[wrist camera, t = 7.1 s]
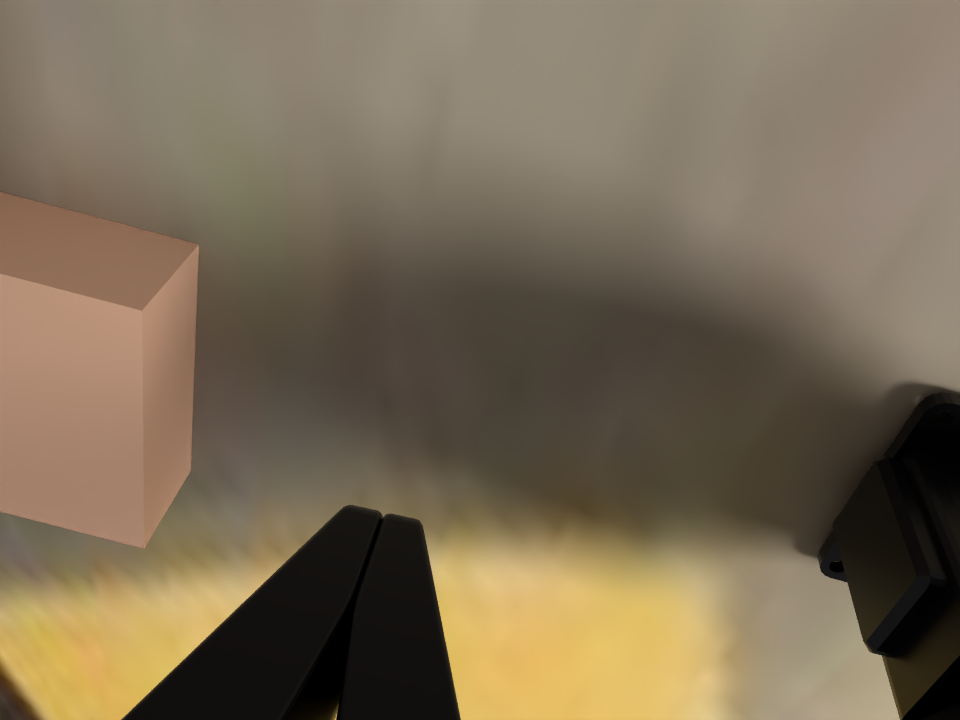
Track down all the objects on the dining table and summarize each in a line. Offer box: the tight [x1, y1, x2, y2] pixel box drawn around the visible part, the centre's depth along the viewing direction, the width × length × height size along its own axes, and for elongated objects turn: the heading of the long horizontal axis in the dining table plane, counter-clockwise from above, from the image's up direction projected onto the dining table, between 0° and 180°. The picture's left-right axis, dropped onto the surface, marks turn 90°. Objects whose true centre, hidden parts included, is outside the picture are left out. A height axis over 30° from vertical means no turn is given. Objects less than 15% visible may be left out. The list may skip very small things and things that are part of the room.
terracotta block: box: [0, 192, 199, 548], centre depth 23 cm, size 7×8×4 cm
